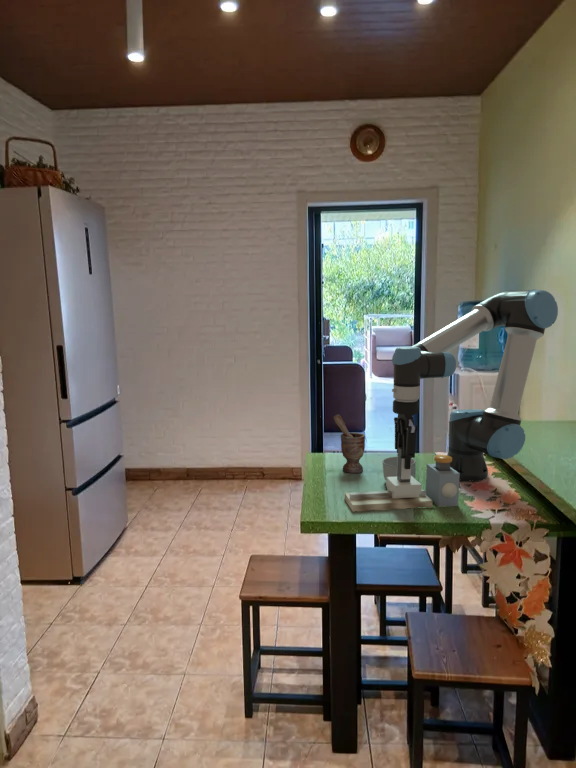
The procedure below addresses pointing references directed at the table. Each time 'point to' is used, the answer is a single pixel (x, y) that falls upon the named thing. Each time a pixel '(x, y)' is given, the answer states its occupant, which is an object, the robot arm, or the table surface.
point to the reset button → (443, 462)
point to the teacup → (395, 467)
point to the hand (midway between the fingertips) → (403, 476)
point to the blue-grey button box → (442, 486)
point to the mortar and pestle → (351, 447)
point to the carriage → (402, 483)
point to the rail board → (384, 501)
